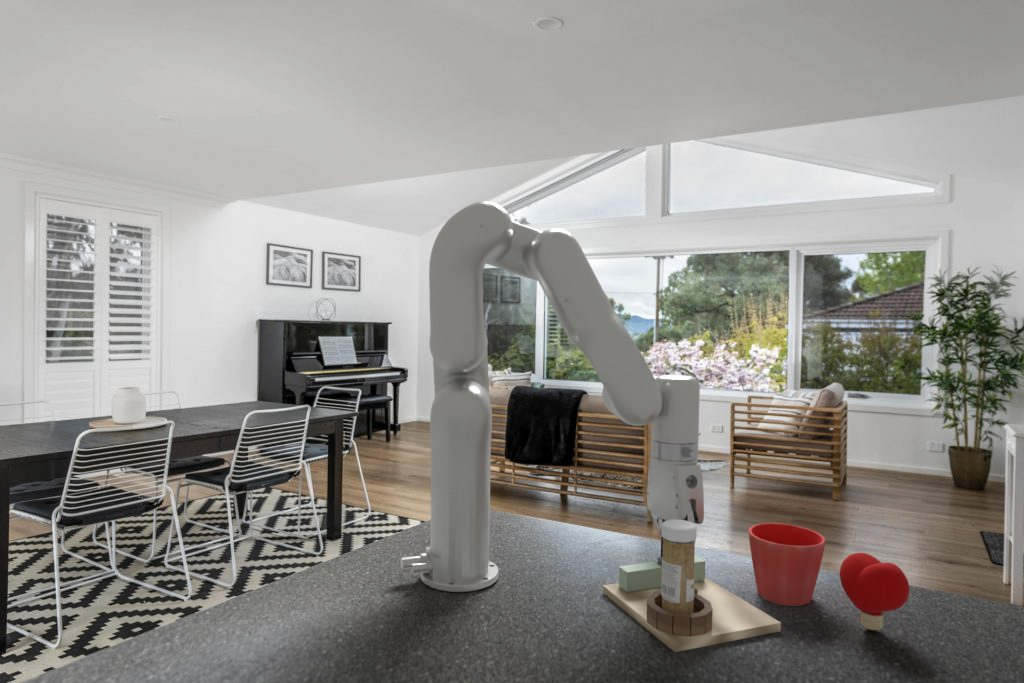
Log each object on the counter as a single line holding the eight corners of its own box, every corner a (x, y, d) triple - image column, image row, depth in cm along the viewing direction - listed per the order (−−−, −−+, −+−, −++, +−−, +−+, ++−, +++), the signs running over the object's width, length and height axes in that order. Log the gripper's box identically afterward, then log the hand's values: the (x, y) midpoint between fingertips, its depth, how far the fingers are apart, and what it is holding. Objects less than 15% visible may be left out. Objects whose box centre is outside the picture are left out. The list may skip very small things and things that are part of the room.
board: (673, 652, 85) (674, 624, 85) (601, 593, 103) (601, 569, 103) (780, 631, 91) (781, 604, 91) (695, 578, 109) (696, 556, 109)
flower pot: (831, 614, 96) (834, 548, 96) (752, 607, 99) (754, 542, 98) (814, 585, 107) (816, 525, 106) (742, 579, 109) (744, 520, 109)
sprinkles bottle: (700, 626, 90) (703, 527, 89) (670, 630, 88) (672, 529, 88) (683, 611, 94) (685, 516, 94) (653, 615, 93) (655, 519, 92)
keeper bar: (626, 592, 100) (627, 567, 100) (618, 585, 102) (619, 561, 102) (704, 580, 105) (705, 556, 105) (695, 574, 107) (696, 550, 107)
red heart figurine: (824, 620, 95) (827, 550, 94) (860, 612, 97) (862, 544, 97) (884, 651, 86) (887, 574, 86) (921, 641, 89) (924, 567, 88)
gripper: (723, 459, 104) (719, 575, 104) (667, 441, 118) (664, 544, 118) (682, 462, 101) (679, 582, 102) (630, 443, 115) (627, 549, 116)
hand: (671, 561), depth 110 cm, fingers closed
